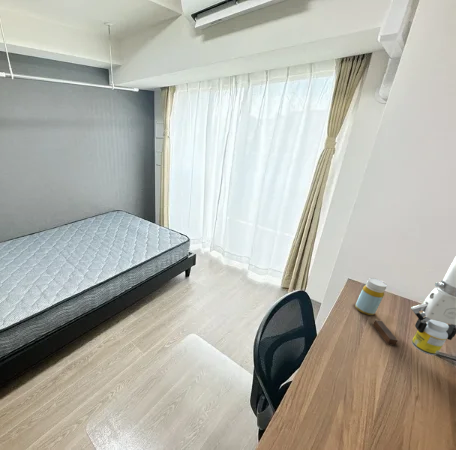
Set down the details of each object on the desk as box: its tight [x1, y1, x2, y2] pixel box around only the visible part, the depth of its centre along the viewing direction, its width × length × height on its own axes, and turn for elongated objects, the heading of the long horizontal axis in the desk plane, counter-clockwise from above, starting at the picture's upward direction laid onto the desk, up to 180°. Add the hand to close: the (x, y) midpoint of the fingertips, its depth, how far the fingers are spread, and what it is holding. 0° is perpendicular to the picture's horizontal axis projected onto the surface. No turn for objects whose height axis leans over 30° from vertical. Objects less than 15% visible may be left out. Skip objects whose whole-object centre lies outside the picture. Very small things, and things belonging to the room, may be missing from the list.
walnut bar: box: [372, 319, 399, 346], centre depth 95 cm, size 10×2×2 cm, turn 166°
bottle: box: [354, 277, 388, 316], centre depth 105 cm, size 7×7×15 cm
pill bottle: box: [411, 319, 449, 356], centre depth 83 cm, size 6×6×12 cm
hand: (432, 332), depth 83 cm, fingers closed on pill bottle, 6 cm apart
